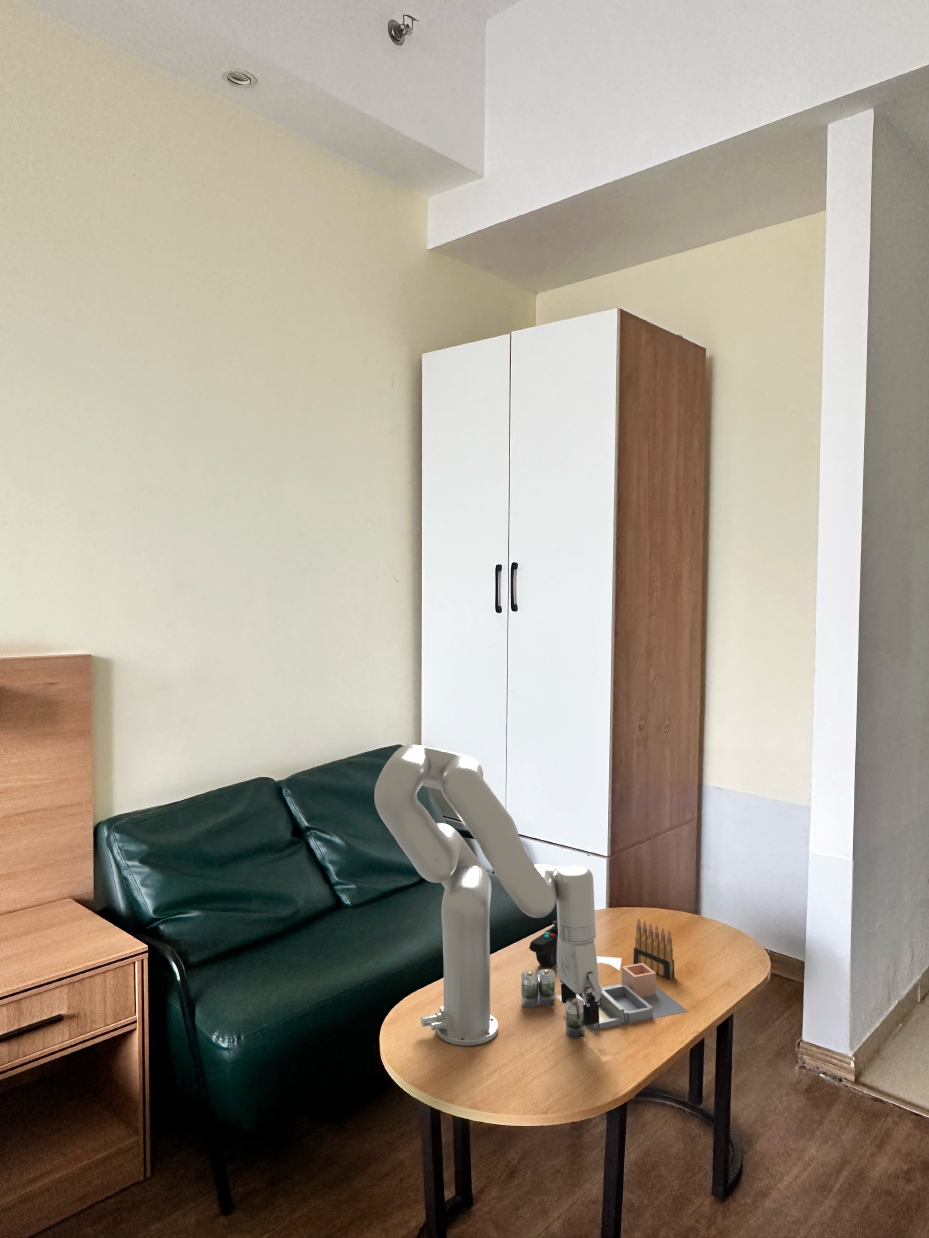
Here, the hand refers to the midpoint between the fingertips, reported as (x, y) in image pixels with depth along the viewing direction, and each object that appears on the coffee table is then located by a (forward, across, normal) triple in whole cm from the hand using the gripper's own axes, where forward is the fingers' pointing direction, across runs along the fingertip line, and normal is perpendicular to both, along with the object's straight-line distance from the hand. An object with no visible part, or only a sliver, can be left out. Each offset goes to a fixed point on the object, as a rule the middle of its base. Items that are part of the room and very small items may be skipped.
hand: (580, 1012), depth 180 cm
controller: (+4, -30, +7) cm, 31 cm away
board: (+5, -6, +13) cm, 15 cm away
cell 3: (+4, 0, -1) cm, 5 cm away
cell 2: (+4, -14, -1) cm, 15 cm away
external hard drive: (+6, -23, +18) cm, 29 cm away
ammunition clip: (+6, -18, +28) cm, 33 cm away
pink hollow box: (+4, -10, +19) cm, 22 cm away
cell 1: (+4, -15, -5) cm, 16 cm away
